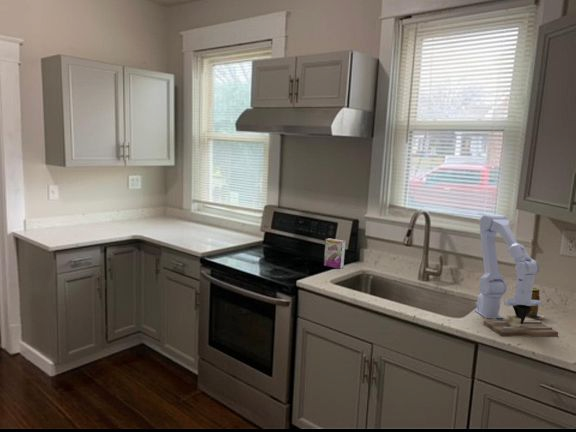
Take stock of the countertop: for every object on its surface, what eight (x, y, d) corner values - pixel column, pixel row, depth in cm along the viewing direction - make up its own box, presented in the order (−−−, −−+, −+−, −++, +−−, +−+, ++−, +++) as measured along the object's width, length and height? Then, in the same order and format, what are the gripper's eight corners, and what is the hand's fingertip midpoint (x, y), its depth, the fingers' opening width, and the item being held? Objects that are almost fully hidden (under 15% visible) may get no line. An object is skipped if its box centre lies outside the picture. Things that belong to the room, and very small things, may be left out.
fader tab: (505, 323, 177) (507, 314, 177) (512, 323, 177) (513, 314, 177) (512, 328, 173) (514, 318, 172) (519, 328, 173) (521, 318, 173)
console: (483, 324, 180) (484, 318, 180) (536, 324, 183) (537, 318, 183) (501, 336, 168) (501, 330, 168) (557, 335, 172) (558, 330, 171)
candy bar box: (323, 266, 261) (325, 239, 259) (326, 264, 265) (328, 237, 263) (340, 269, 256) (342, 241, 253) (343, 267, 260) (345, 240, 258)
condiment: (523, 311, 199) (526, 285, 198) (544, 316, 194) (547, 290, 192) (518, 314, 194) (522, 288, 192) (539, 320, 188) (543, 293, 187)
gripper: (513, 293, 168) (509, 326, 170) (547, 293, 171) (543, 326, 172) (502, 287, 175) (498, 319, 177) (535, 287, 177) (531, 320, 179)
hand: (519, 322), depth 175 cm, fingers closed
